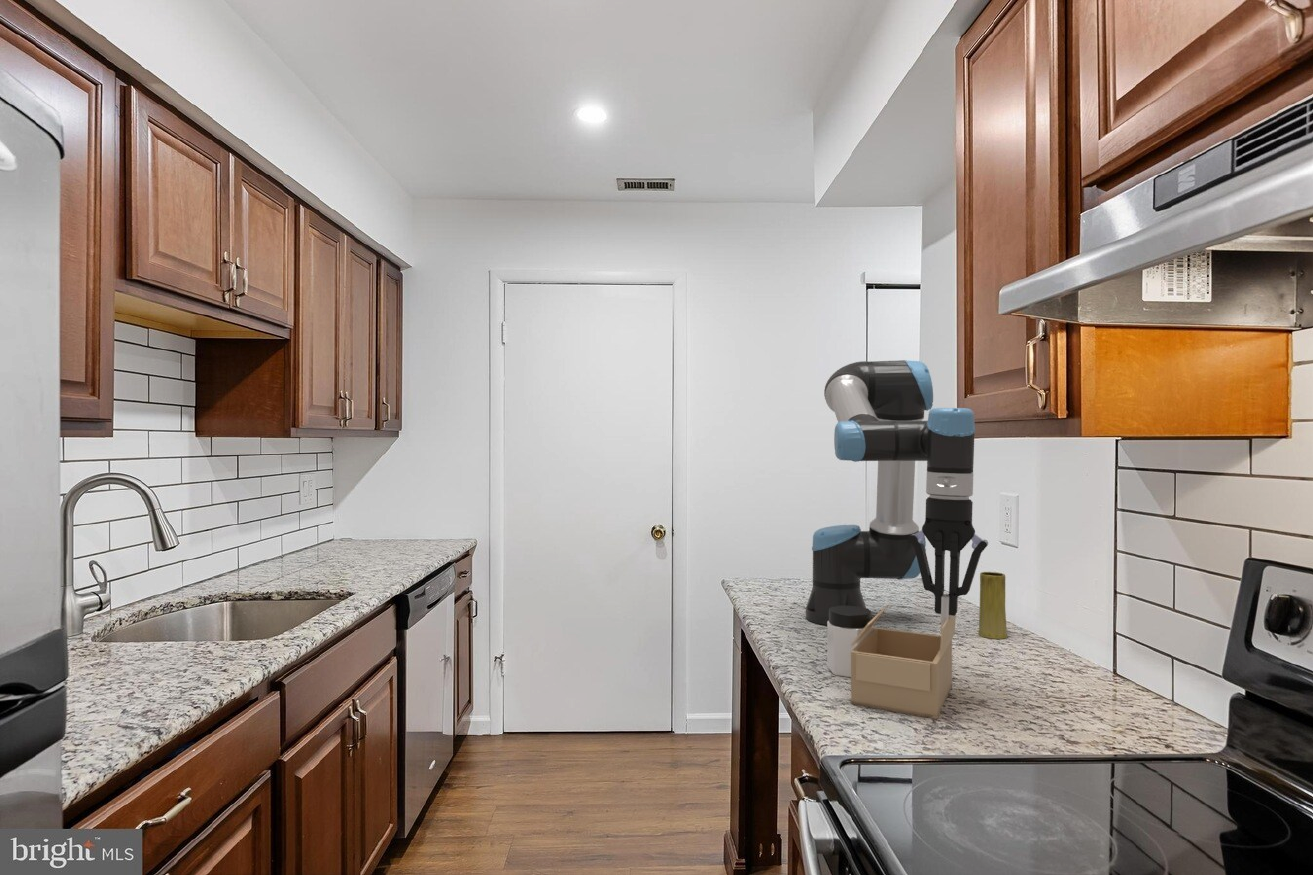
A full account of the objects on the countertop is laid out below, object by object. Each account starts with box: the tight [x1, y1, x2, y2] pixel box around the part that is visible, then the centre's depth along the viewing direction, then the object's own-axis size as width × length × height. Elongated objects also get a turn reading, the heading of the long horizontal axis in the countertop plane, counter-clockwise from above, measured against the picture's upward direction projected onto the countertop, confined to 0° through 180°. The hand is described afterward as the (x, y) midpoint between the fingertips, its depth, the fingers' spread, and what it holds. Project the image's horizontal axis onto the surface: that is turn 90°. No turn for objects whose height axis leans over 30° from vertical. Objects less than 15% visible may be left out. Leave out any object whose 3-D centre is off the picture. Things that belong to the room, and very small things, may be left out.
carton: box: [850, 627, 953, 720], centre depth 130 cm, size 19×14×9 cm
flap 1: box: [851, 604, 889, 646], centre depth 133 cm, size 16×5×1 cm
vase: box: [978, 571, 1008, 640], centre depth 168 cm, size 6×6×14 cm
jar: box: [826, 606, 875, 678], centre depth 143 cm, size 9×8×12 cm
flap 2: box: [940, 614, 957, 657], centre depth 127 cm, size 16×5×1 cm
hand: (945, 633), depth 126 cm, fingers closed
